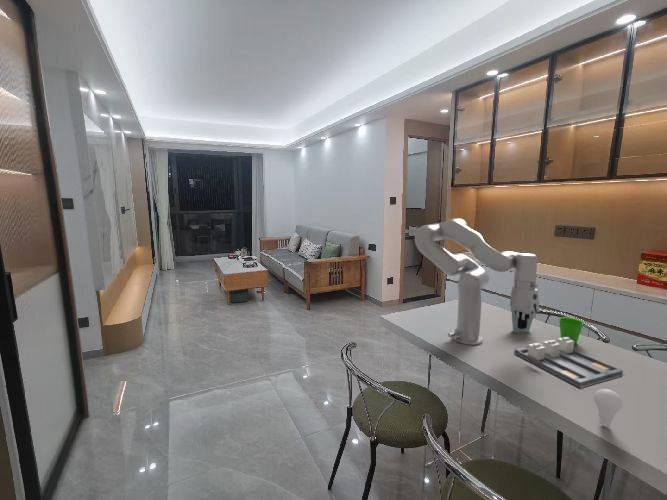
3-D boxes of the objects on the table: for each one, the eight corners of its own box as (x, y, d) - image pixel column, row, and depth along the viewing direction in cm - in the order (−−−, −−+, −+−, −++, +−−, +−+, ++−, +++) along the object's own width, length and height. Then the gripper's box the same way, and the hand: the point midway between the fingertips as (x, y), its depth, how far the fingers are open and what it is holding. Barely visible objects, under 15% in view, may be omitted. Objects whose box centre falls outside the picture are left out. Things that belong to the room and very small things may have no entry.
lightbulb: (585, 419, 98) (590, 385, 96) (604, 418, 98) (609, 384, 96) (603, 434, 92) (609, 397, 90) (624, 433, 92) (630, 396, 90)
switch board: (579, 389, 113) (580, 382, 112) (514, 355, 137) (514, 349, 136) (621, 377, 120) (622, 370, 120) (553, 346, 144) (553, 341, 144)
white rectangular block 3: (565, 353, 134) (567, 340, 133) (556, 349, 138) (557, 336, 137) (572, 352, 135) (574, 339, 134) (563, 348, 139) (564, 335, 138)
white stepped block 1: (536, 360, 129) (537, 347, 128) (527, 356, 132) (528, 342, 131) (544, 358, 130) (545, 345, 129) (534, 354, 134) (536, 341, 133)
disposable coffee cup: (520, 327, 166) (522, 297, 163) (539, 335, 156) (542, 304, 153) (503, 329, 163) (505, 300, 160) (521, 338, 152) (524, 307, 150)
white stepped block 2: (551, 357, 131) (552, 343, 130) (542, 352, 135) (543, 339, 134) (558, 355, 133) (560, 342, 132) (549, 351, 136) (550, 338, 135)
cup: (585, 350, 141) (588, 325, 139) (561, 348, 143) (564, 324, 141) (574, 341, 150) (577, 317, 148) (552, 339, 151) (554, 316, 150)
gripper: (549, 287, 128) (545, 333, 131) (515, 279, 142) (513, 320, 145) (534, 289, 126) (531, 336, 128) (502, 281, 140) (500, 323, 142)
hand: (522, 327), depth 137 cm, fingers closed
